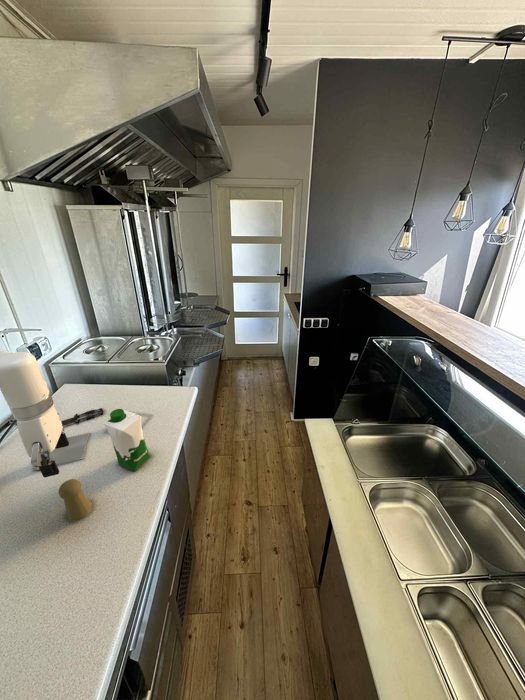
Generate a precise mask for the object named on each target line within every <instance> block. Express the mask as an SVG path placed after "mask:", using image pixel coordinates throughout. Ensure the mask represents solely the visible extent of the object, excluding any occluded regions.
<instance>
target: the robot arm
mask: <svg viewBox="0 0 525 700" xmlns="http://www.w3.org/2000/svg"><path fill="white" fill-rule="evenodd" d="M0 392H1V394H2V396H3V398H4V400H5V402H6V403H7V406H8V408H9V410H10V412H11V415H12V416H13V418H14V420H16V427H17V430H18V434H19V437H20V439H21V442H22V444H23V447H24V450H25V452H26V453H27V456H28V457H29V458H30V465H31V464H33V465H34V466H35V467H37V468H38V467H39V469H40V470H39V471H40V473H41V475H42V477H43V478H48V477H53V476H57V475H59V474H60V469H59V467H58V465H56V463H55V460H53V461H52V451H53V450H54V449H55V448H56V449H57V448H62V447H66V446H69V442H68V439H67V438H68V437H67V434H66V433H65V428H64V427H62V422H61V421H62V420H61V415H60V413H59V412H58V411H57V409H56V408H55V402H54V399H53V397H52V395H51V392H50V390H49V387H48V385H47V383H46V380H45V378H44V375H43V372H42V371H41V368H40V365H39V362H38V361H37V357H35V355H34V354H33V353H30V352H28V351H15V352H14V351H8V350H4V349H0ZM43 449H45V450H47V451H44V452H42V450H43ZM43 454H47V460H42V459H41V455H43Z"/></svg>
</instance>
